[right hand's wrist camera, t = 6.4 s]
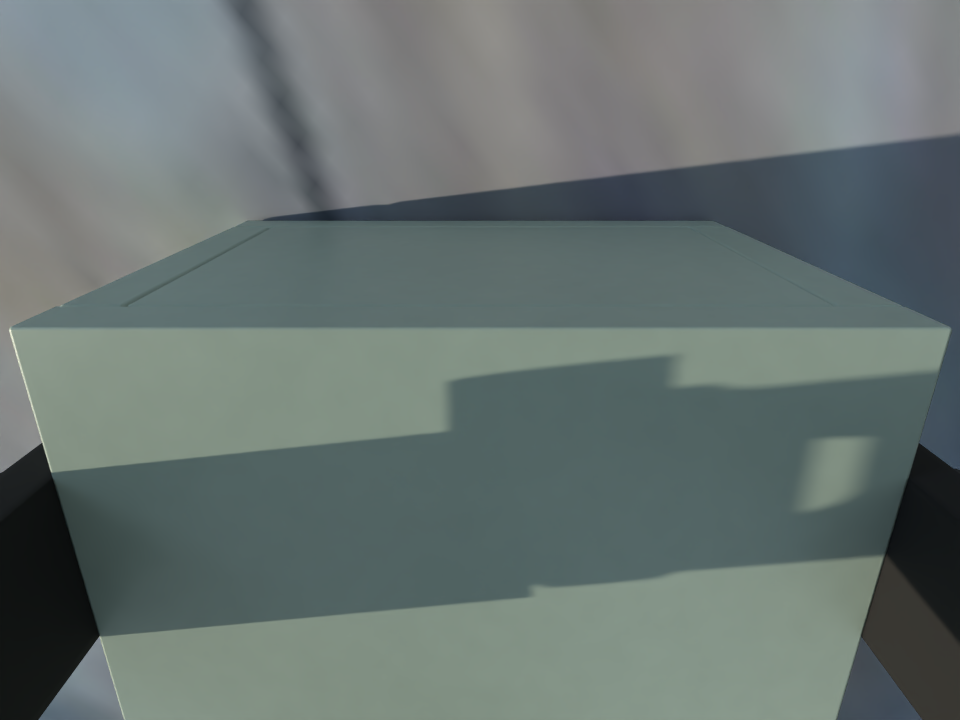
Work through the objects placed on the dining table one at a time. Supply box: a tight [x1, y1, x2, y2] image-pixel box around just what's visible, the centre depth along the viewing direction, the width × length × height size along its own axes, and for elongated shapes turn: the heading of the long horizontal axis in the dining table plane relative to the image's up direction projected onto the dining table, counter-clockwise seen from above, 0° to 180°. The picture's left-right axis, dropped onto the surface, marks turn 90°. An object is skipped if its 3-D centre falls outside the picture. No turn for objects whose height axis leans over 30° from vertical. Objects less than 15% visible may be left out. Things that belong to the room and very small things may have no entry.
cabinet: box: [9, 221, 952, 720], centre depth 14 cm, size 17×11×8 cm, turn 0°
